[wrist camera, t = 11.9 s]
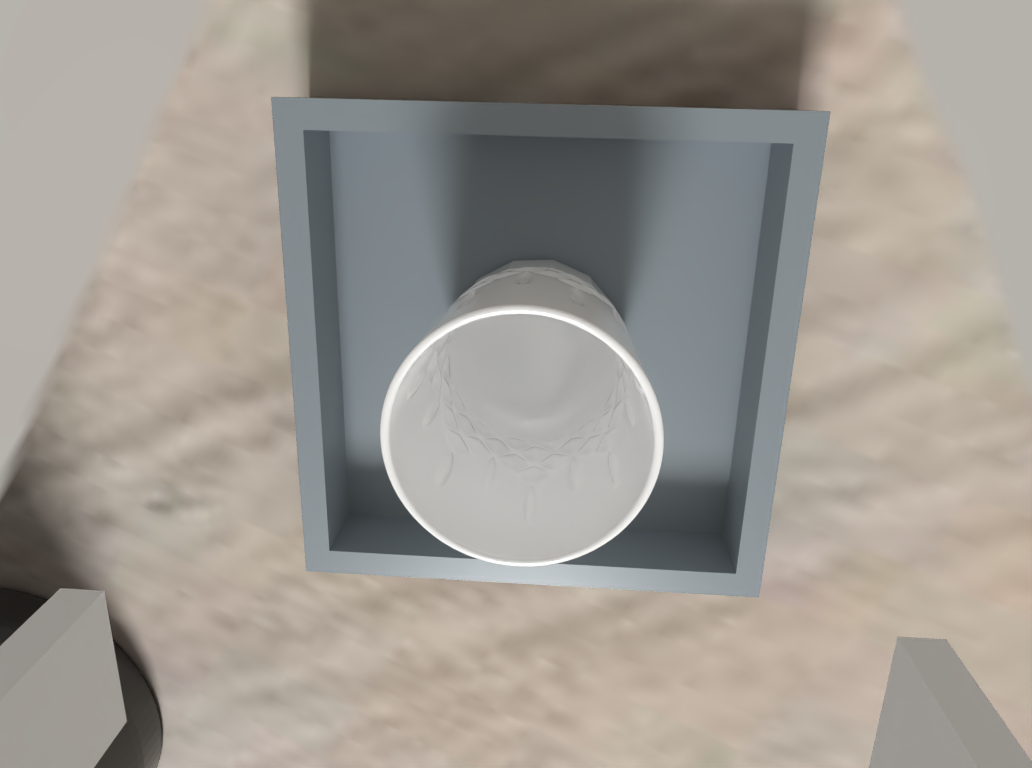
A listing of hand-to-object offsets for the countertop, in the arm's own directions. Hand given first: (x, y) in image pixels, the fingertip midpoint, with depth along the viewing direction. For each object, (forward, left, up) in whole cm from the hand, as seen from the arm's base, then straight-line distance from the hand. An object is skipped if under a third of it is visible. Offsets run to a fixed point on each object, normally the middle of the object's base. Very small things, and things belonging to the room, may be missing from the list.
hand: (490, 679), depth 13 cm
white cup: (0, 0, -20) cm, 20 cm away
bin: (0, 0, -20) cm, 20 cm away
